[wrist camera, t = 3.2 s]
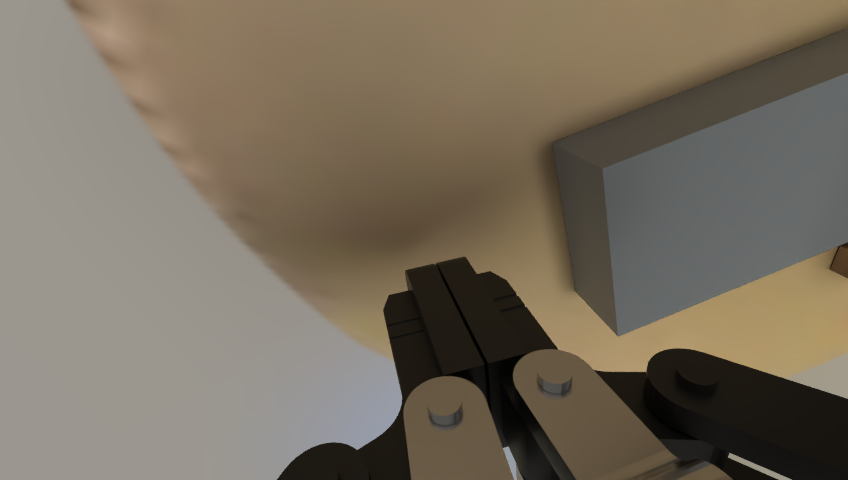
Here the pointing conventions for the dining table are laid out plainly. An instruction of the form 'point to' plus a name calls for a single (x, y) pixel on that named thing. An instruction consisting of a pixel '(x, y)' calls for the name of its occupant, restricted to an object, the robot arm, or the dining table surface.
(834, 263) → the walnut bridge
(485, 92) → the dining table surface
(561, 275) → the dining table surface
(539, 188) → the dining table surface
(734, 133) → the grey rectangular block
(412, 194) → the dining table surface
